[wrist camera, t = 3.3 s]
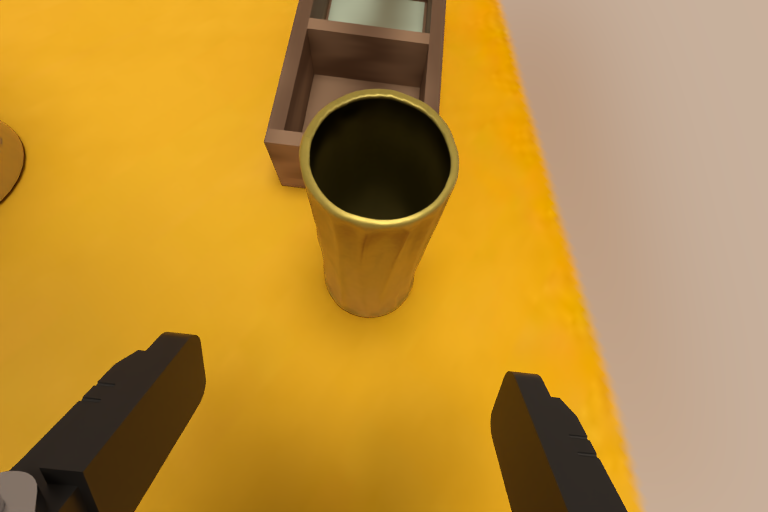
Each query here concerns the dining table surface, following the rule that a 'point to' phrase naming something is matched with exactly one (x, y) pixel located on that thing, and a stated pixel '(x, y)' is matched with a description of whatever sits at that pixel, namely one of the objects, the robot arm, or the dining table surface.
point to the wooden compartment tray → (352, 64)
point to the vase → (376, 193)
